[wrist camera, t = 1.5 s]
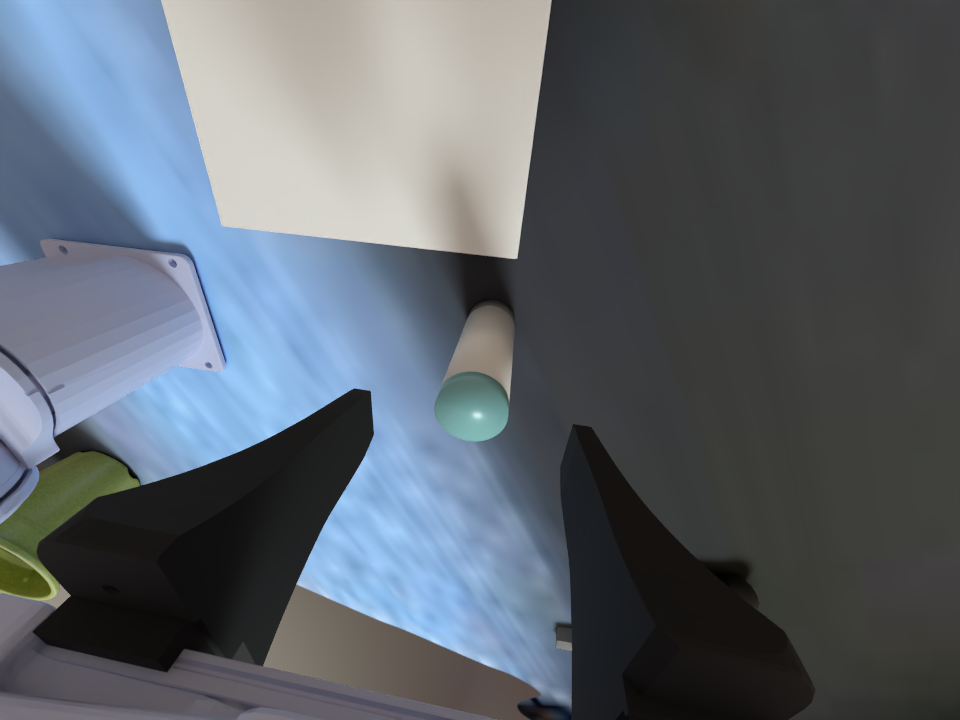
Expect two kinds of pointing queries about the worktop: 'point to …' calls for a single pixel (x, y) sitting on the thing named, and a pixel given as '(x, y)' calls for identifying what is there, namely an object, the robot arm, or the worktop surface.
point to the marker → (479, 375)
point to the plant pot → (53, 518)
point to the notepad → (367, 115)
